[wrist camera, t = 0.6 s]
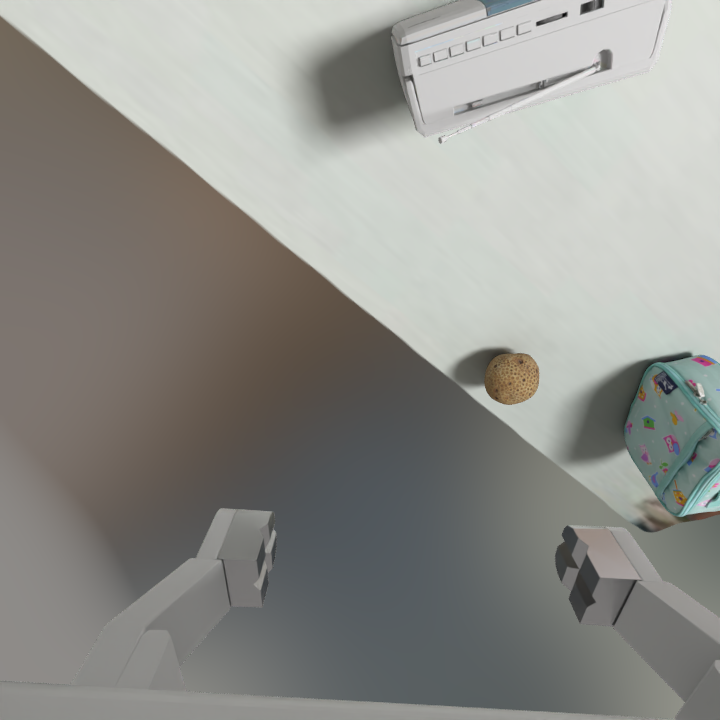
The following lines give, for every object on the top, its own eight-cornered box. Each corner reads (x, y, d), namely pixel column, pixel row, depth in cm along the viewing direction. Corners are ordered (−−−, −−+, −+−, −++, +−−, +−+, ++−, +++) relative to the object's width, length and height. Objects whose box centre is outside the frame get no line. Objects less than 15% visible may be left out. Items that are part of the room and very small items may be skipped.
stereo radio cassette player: (607, -56, 37) (764, -84, 23) (596, 51, 43) (718, 84, 28) (387, 21, 41) (400, 39, 27) (403, 110, 47) (421, 167, 32)
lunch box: (646, 346, 71) (727, 449, 55) (711, 338, 69) (813, 440, 54) (613, 436, 89) (667, 533, 73) (664, 431, 87) (730, 529, 71)
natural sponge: (513, 329, 68) (531, 370, 61) (539, 357, 73) (559, 398, 65) (468, 357, 73) (480, 398, 65) (495, 381, 77) (509, 423, 70)
